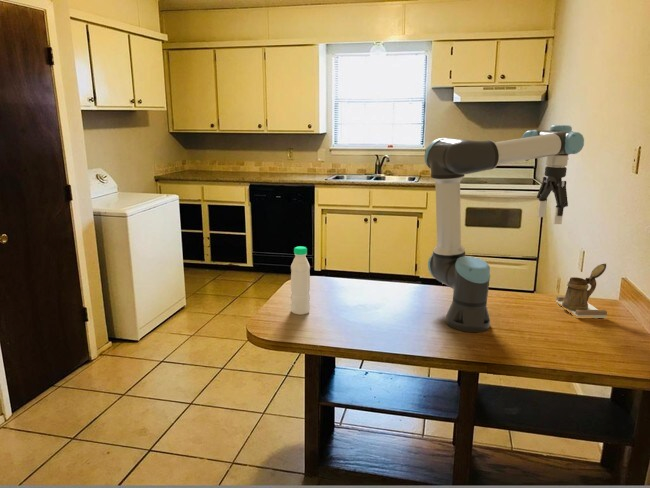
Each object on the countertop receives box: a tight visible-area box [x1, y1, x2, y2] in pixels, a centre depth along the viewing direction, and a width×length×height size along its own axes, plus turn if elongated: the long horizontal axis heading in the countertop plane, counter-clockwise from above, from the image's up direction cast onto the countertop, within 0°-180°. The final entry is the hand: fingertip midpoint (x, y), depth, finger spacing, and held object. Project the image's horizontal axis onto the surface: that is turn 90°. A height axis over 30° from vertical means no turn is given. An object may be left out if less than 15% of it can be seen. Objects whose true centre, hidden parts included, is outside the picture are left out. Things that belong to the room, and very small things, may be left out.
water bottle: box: [290, 245, 311, 315], centre depth 181 cm, size 7×7×25 cm
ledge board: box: [555, 295, 608, 319], centre depth 190 cm, size 11×16×3 cm
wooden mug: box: [562, 263, 607, 311], centre depth 187 cm, size 9×14×18 cm, turn 83°
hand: (548, 220), depth 195 cm, fingers open, 13 cm apart
